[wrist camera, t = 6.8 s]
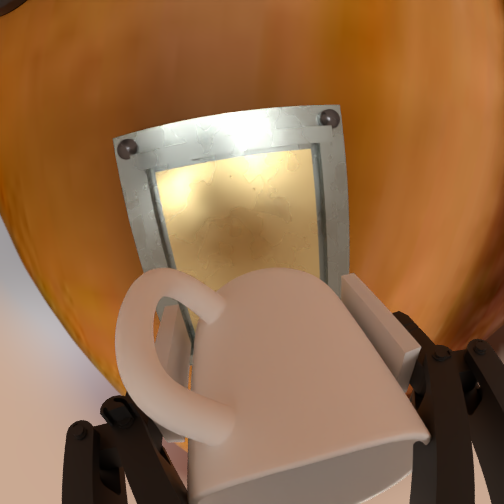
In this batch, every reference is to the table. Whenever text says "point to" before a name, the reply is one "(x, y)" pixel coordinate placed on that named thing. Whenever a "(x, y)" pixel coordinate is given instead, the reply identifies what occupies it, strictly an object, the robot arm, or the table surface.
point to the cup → (271, 391)
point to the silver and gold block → (239, 196)
